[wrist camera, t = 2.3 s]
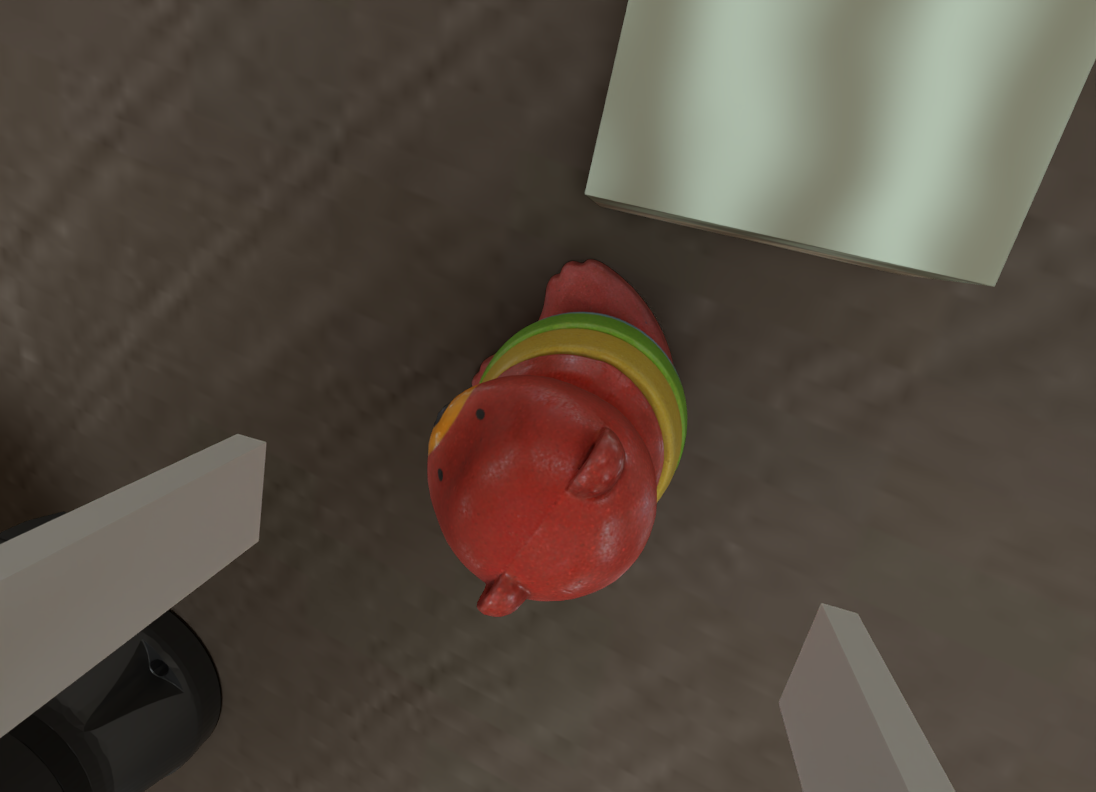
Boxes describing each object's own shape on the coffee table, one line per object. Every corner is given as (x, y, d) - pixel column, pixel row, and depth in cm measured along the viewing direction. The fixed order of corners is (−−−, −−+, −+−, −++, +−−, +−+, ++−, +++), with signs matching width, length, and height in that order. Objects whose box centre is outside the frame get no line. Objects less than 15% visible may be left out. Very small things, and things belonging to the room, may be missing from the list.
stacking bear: (581, 241, 30) (497, 240, 13) (725, 367, 31) (825, 523, 14) (460, 390, 33) (268, 543, 16) (593, 502, 34) (539, 764, 17)
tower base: (600, 206, 29) (584, 194, 22) (683, -146, 25) (699, -314, 18) (899, 274, 28) (994, 286, 20) (1041, -87, 24) (1229, -244, 16)
